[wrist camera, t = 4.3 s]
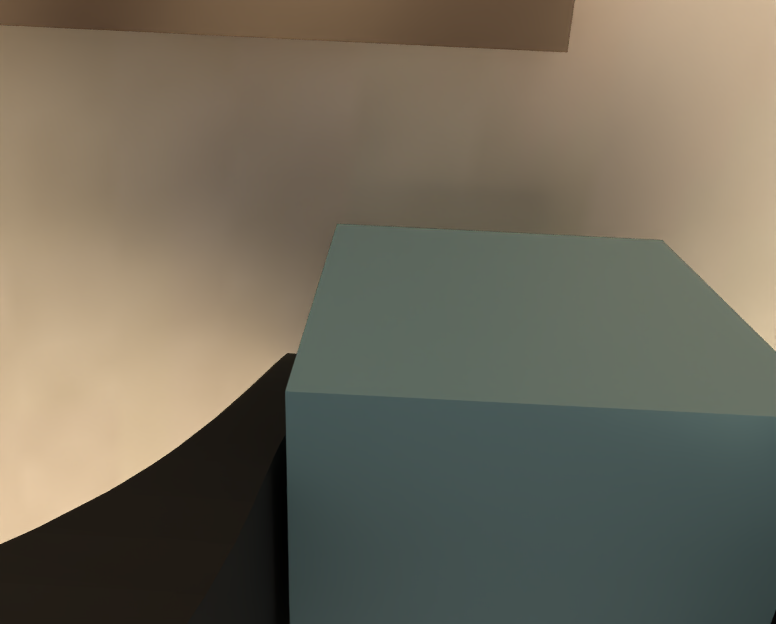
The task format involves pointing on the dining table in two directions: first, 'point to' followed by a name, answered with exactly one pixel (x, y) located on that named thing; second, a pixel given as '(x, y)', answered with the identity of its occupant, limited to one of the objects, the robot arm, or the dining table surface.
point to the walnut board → (319, 20)
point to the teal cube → (527, 436)
